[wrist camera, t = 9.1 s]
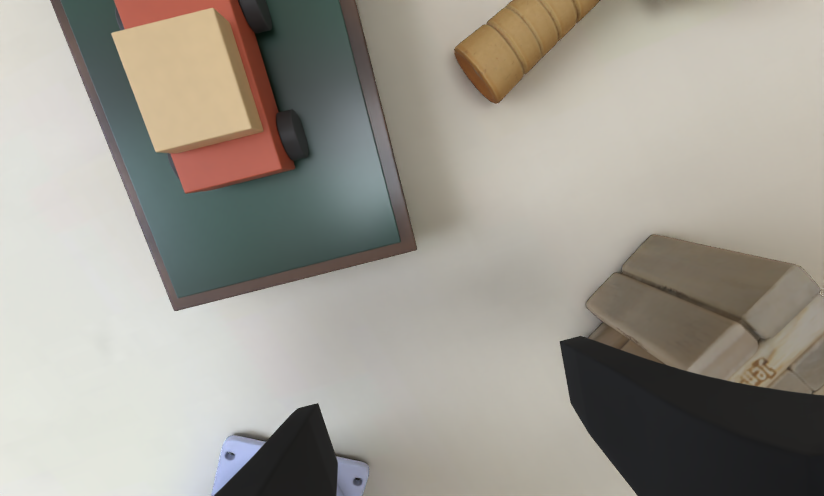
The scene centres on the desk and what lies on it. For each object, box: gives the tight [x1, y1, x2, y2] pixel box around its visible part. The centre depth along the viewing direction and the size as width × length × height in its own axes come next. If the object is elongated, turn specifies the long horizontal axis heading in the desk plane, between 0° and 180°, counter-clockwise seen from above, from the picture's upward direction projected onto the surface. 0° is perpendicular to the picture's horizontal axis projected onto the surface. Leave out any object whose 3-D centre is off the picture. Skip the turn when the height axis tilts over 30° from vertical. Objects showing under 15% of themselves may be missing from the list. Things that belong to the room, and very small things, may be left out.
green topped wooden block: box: [50, 0, 417, 311], centre depth 17 cm, size 16×11×3 cm
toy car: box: [111, 0, 309, 193], centre depth 13 cm, size 7×5×4 cm, turn 14°
